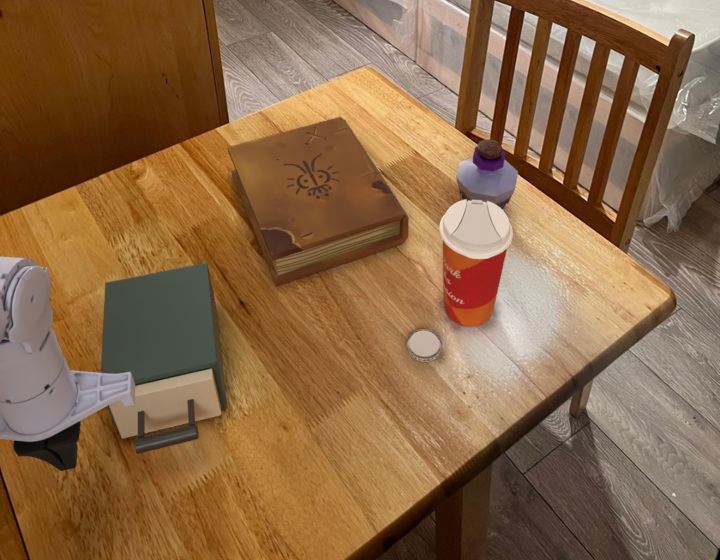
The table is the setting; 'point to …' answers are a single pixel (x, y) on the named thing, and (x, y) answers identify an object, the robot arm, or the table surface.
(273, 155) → the diary
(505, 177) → the potion bottle
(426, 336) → the white bottle cap
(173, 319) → the cabinet
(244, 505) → the table surface
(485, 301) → the coffee cup
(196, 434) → the drawer
